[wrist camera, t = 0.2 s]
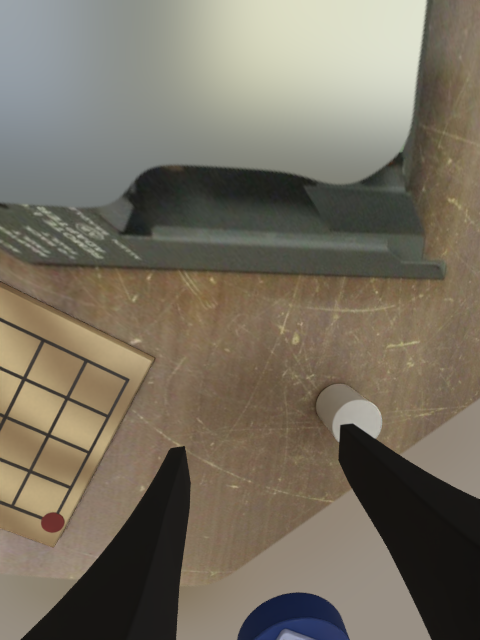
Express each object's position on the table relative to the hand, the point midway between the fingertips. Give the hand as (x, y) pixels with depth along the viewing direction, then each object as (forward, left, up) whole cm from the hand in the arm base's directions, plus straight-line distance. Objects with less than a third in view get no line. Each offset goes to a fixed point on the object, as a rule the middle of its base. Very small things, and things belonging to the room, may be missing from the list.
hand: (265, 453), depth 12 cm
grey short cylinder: (+2, -9, -10) cm, 14 cm away
